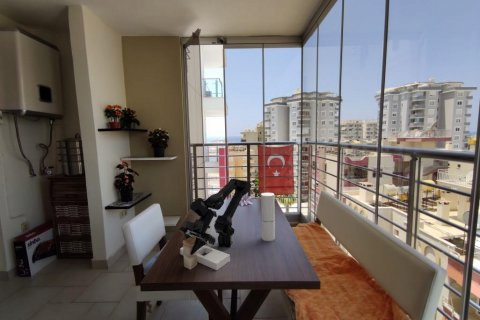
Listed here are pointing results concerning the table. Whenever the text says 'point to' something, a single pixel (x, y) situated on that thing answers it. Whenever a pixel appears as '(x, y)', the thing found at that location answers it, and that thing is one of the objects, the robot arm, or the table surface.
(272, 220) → the cylindrical container
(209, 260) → the white slotted block
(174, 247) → the table surface
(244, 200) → the water lily
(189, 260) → the wooden peg
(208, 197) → the robot arm
